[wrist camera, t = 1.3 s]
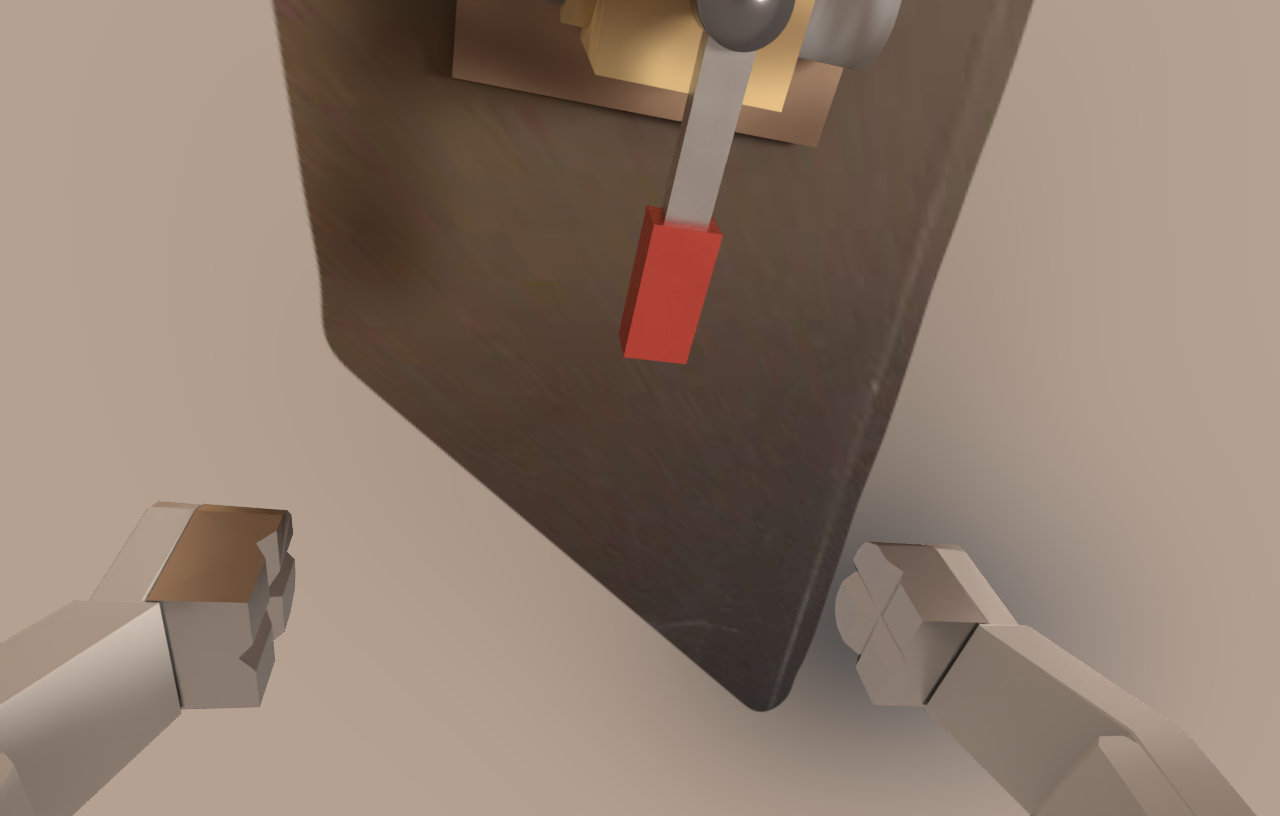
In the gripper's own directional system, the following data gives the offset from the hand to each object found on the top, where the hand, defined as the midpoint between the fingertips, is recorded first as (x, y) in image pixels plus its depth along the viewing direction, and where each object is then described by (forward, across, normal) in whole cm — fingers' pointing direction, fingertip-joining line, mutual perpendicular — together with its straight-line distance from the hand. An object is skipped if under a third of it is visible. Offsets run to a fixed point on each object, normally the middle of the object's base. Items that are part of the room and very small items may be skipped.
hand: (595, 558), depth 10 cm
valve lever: (+21, -6, -1) cm, 22 cm away
